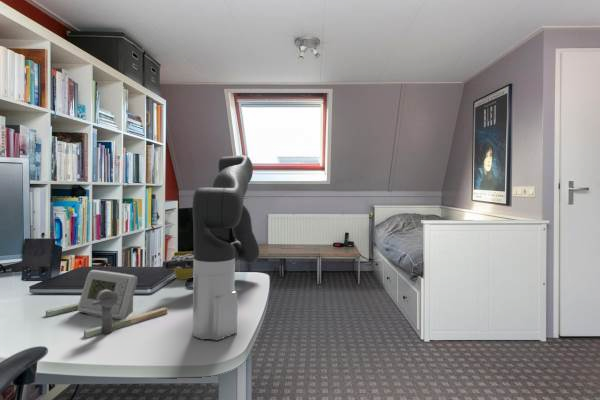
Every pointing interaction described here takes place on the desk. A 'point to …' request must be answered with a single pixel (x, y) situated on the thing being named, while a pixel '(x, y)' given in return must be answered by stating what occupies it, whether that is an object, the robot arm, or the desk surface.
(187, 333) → the desk surface
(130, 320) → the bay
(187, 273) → the flower pot
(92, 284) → the digital clock
